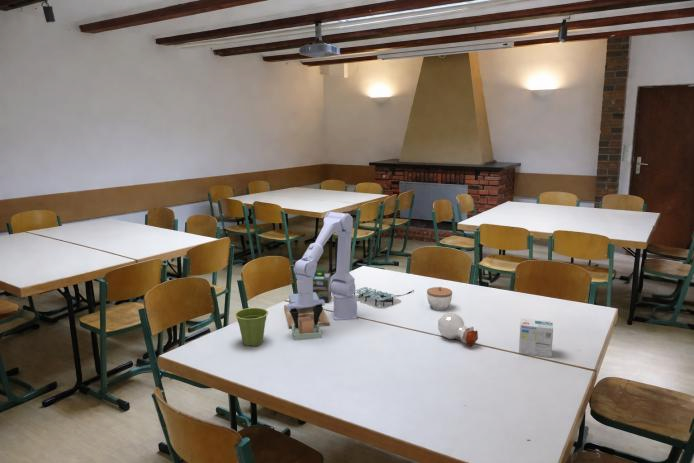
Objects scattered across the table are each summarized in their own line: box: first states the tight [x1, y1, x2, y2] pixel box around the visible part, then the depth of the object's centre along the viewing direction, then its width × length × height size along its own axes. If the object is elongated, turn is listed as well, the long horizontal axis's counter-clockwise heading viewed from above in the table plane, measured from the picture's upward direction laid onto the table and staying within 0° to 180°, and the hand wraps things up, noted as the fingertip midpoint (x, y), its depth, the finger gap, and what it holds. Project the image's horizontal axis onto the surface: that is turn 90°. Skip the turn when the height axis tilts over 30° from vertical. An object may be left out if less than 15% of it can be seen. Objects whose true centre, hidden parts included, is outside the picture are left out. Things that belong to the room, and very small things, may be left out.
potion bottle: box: [437, 312, 479, 347], centre depth 182 cm, size 10×10×15 cm
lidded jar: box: [426, 286, 453, 311], centre depth 215 cm, size 11×11×9 cm
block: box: [298, 316, 314, 334], centre depth 189 cm, size 4×4×6 cm
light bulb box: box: [518, 317, 554, 358], centre depth 172 cm, size 11×7×11 cm, turn 71°
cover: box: [288, 292, 319, 304], centre depth 210 cm, size 12×10×8 cm
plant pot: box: [234, 307, 269, 347], centre depth 181 cm, size 12×12×11 cm
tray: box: [291, 324, 322, 341], centre depth 189 cm, size 10×10×2 cm
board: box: [283, 304, 330, 330], centre depth 206 cm, size 16×24×2 cm
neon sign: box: [353, 286, 415, 309], centre depth 231 cm, size 21×4×29 cm
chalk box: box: [313, 268, 332, 304], centre depth 225 cm, size 9×9×15 cm
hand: (306, 325), depth 188 cm, fingers open, 7 cm apart
